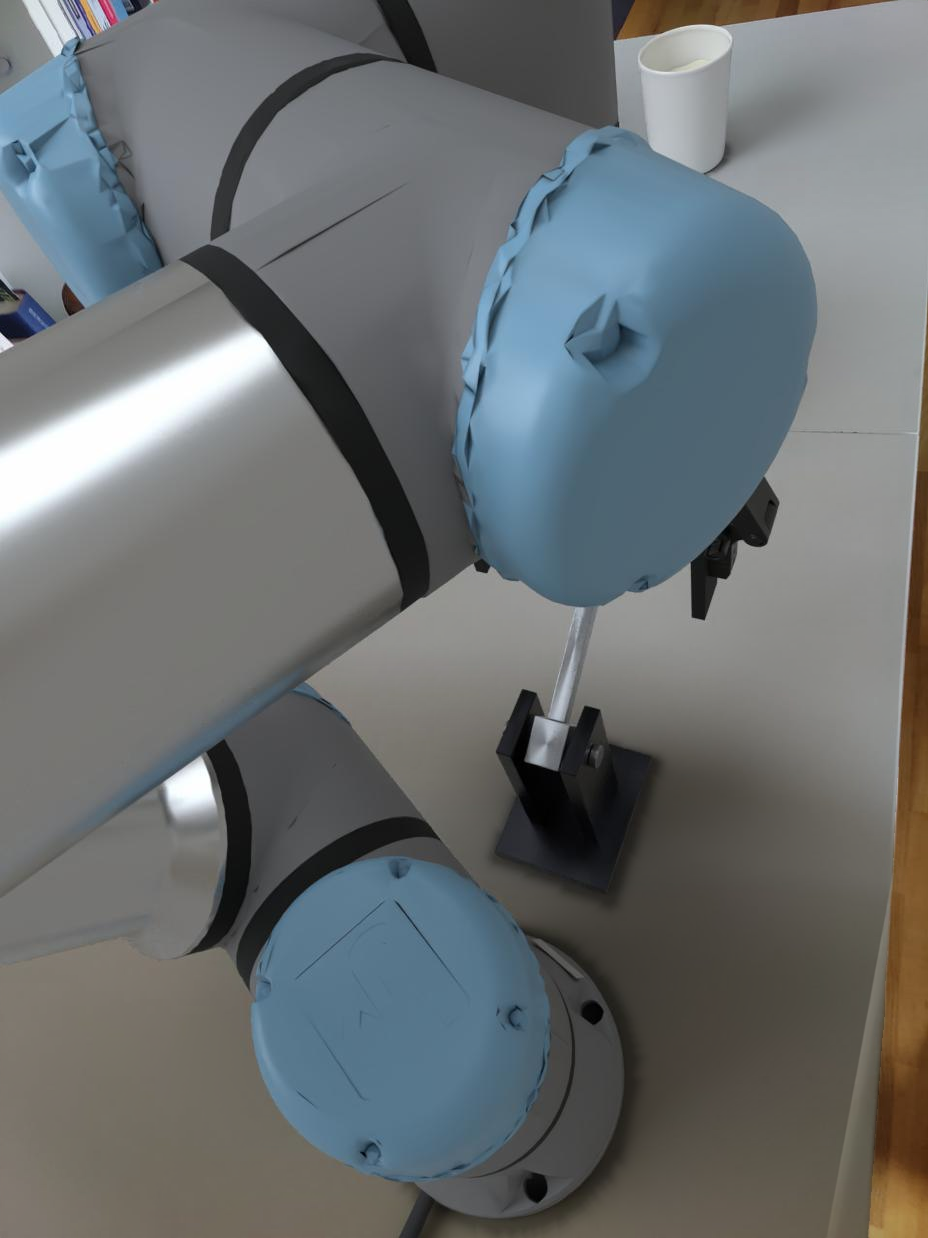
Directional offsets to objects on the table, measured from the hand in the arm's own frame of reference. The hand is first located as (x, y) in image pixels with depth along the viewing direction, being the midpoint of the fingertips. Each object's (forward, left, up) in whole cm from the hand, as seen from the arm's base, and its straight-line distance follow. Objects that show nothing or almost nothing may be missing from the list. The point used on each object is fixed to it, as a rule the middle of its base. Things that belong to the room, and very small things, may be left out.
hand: (591, 577), depth 51 cm
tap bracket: (-9, 0, -16) cm, 18 cm away
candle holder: (+70, +14, -16) cm, 73 cm away
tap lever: (-4, 0, -3) cm, 5 cm away
